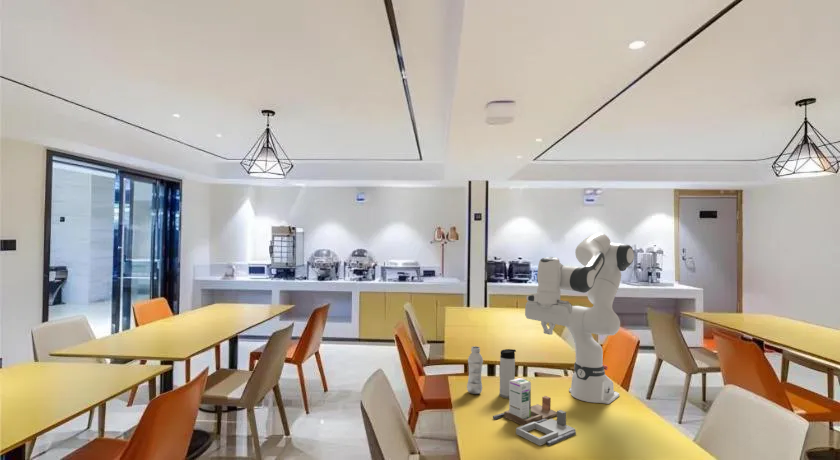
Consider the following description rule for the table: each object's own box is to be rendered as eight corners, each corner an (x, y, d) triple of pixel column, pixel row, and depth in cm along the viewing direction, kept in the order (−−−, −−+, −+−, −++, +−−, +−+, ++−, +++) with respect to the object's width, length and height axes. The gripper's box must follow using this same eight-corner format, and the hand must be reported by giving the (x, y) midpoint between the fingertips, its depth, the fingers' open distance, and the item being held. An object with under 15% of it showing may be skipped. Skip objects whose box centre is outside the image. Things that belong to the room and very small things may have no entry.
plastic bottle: (466, 390, 184) (468, 345, 185) (482, 391, 184) (483, 346, 184) (466, 395, 178) (467, 348, 179) (482, 396, 177) (483, 349, 178)
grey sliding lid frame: (551, 420, 153) (551, 406, 154) (575, 431, 145) (575, 415, 145) (515, 433, 142) (516, 418, 142) (539, 445, 134) (540, 429, 134)
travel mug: (515, 399, 175) (516, 351, 176) (499, 397, 176) (500, 350, 177) (514, 394, 181) (515, 348, 182) (499, 392, 182) (500, 347, 183)
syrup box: (520, 424, 150) (521, 383, 151) (508, 418, 155) (509, 379, 156) (530, 420, 154) (531, 381, 154) (518, 415, 158) (519, 377, 159)
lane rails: (519, 410, 163) (519, 407, 163) (575, 434, 143) (575, 431, 143) (492, 418, 154) (492, 416, 154) (549, 445, 134) (549, 442, 134)
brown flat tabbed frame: (537, 406, 167) (537, 393, 168) (558, 414, 159) (558, 400, 159) (504, 416, 156) (504, 402, 156) (525, 426, 148) (525, 411, 148)
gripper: (577, 301, 155) (576, 338, 154) (532, 295, 172) (532, 328, 171) (567, 302, 151) (566, 340, 151) (523, 295, 168) (522, 330, 167)
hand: (548, 333), depth 161 cm, fingers closed
